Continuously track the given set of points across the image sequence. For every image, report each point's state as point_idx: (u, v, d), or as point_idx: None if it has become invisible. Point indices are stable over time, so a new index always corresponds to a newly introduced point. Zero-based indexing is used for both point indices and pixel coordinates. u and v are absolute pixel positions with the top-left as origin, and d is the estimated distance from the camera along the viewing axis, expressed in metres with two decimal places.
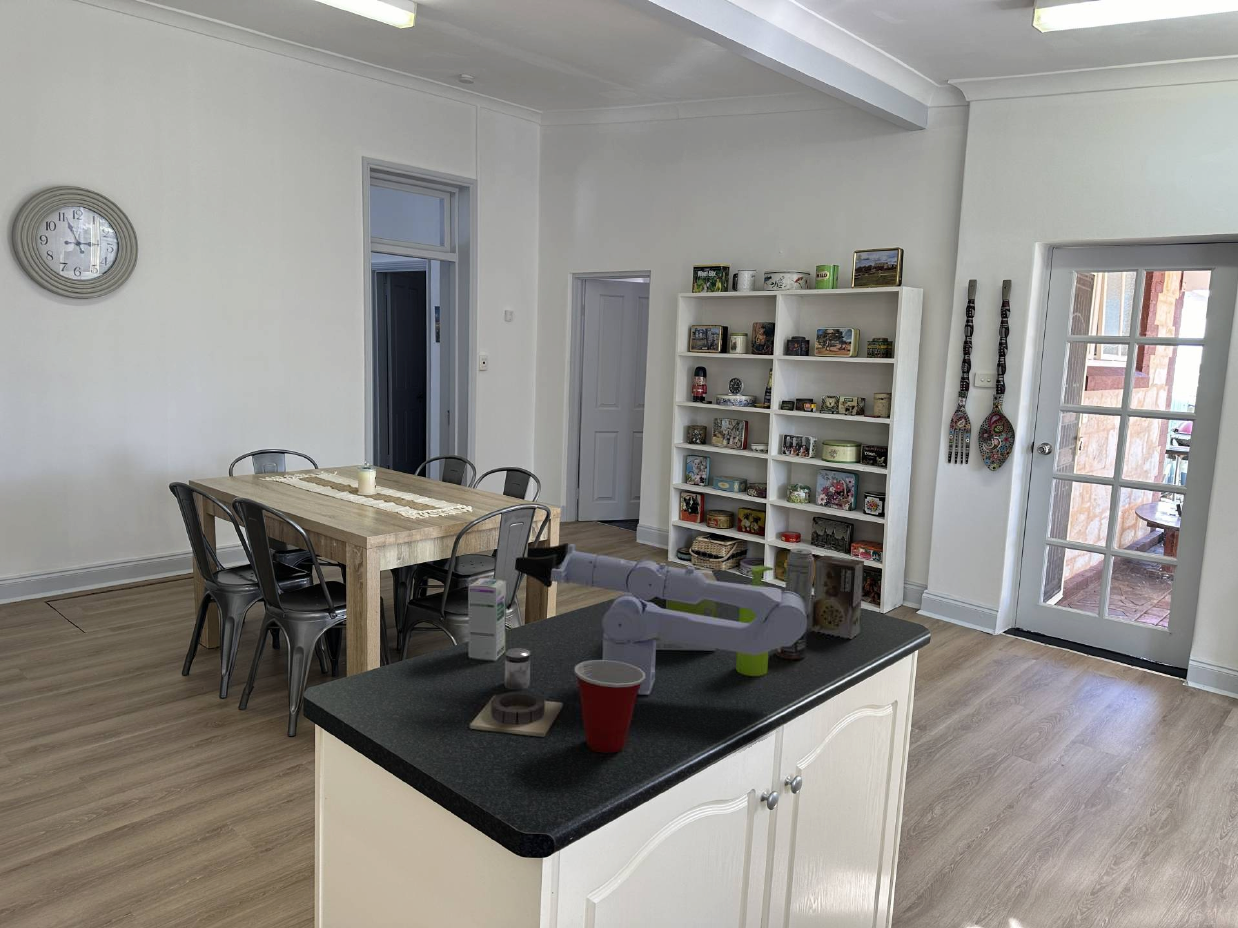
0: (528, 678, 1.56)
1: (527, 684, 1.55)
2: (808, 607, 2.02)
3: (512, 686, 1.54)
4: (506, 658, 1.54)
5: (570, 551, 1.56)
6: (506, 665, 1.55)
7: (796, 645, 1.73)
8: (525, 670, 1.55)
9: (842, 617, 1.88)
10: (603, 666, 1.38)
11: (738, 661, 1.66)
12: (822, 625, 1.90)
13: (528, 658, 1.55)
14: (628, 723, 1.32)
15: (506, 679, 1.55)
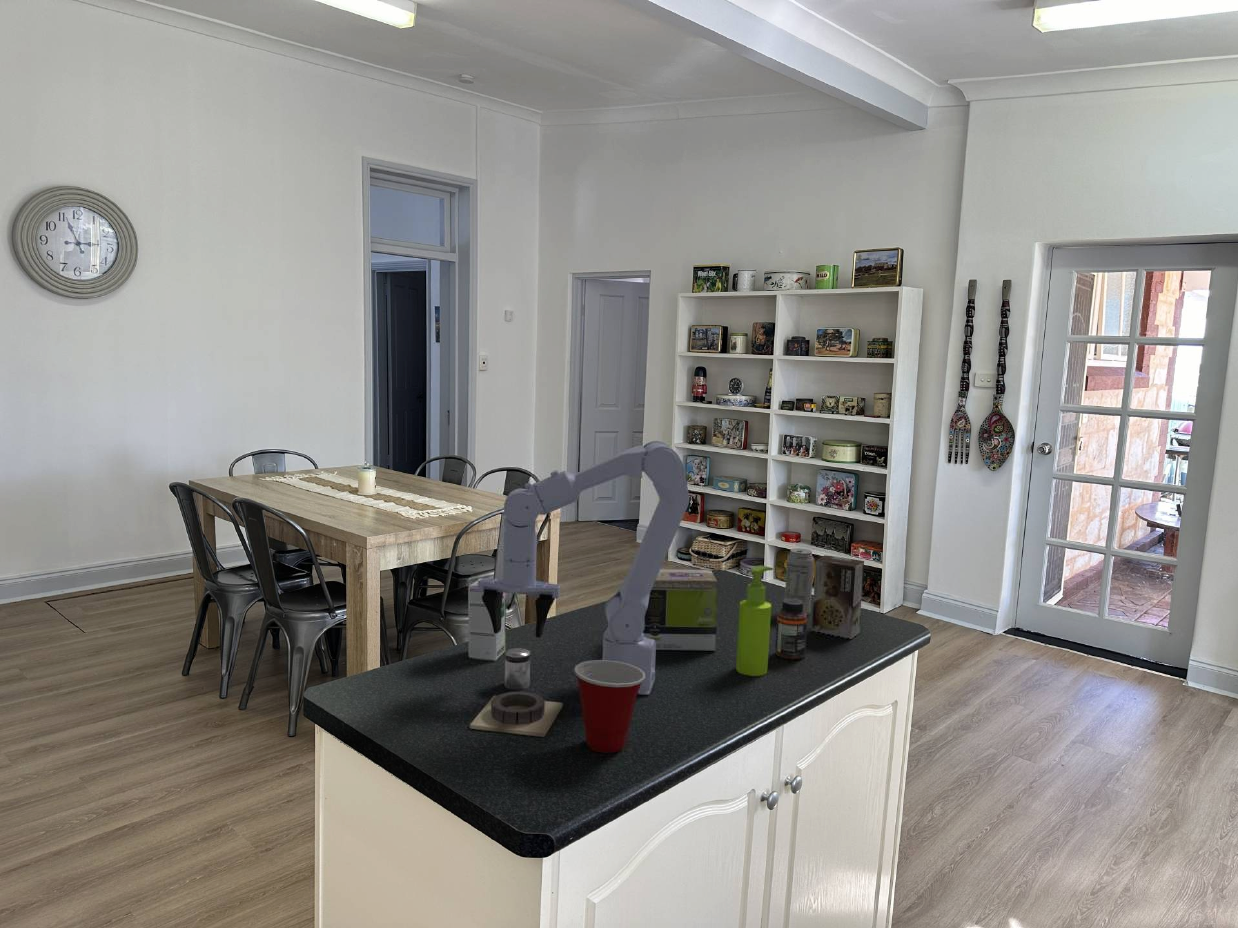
0: (528, 678, 1.56)
1: (527, 684, 1.55)
2: (808, 607, 2.02)
3: (512, 686, 1.54)
4: (506, 658, 1.54)
5: (520, 589, 1.51)
6: (506, 665, 1.55)
7: (796, 645, 1.73)
8: (525, 670, 1.55)
9: (842, 617, 1.88)
10: (603, 666, 1.38)
11: (738, 661, 1.66)
12: (822, 625, 1.90)
13: (528, 658, 1.55)
14: (628, 723, 1.32)
15: (506, 679, 1.55)
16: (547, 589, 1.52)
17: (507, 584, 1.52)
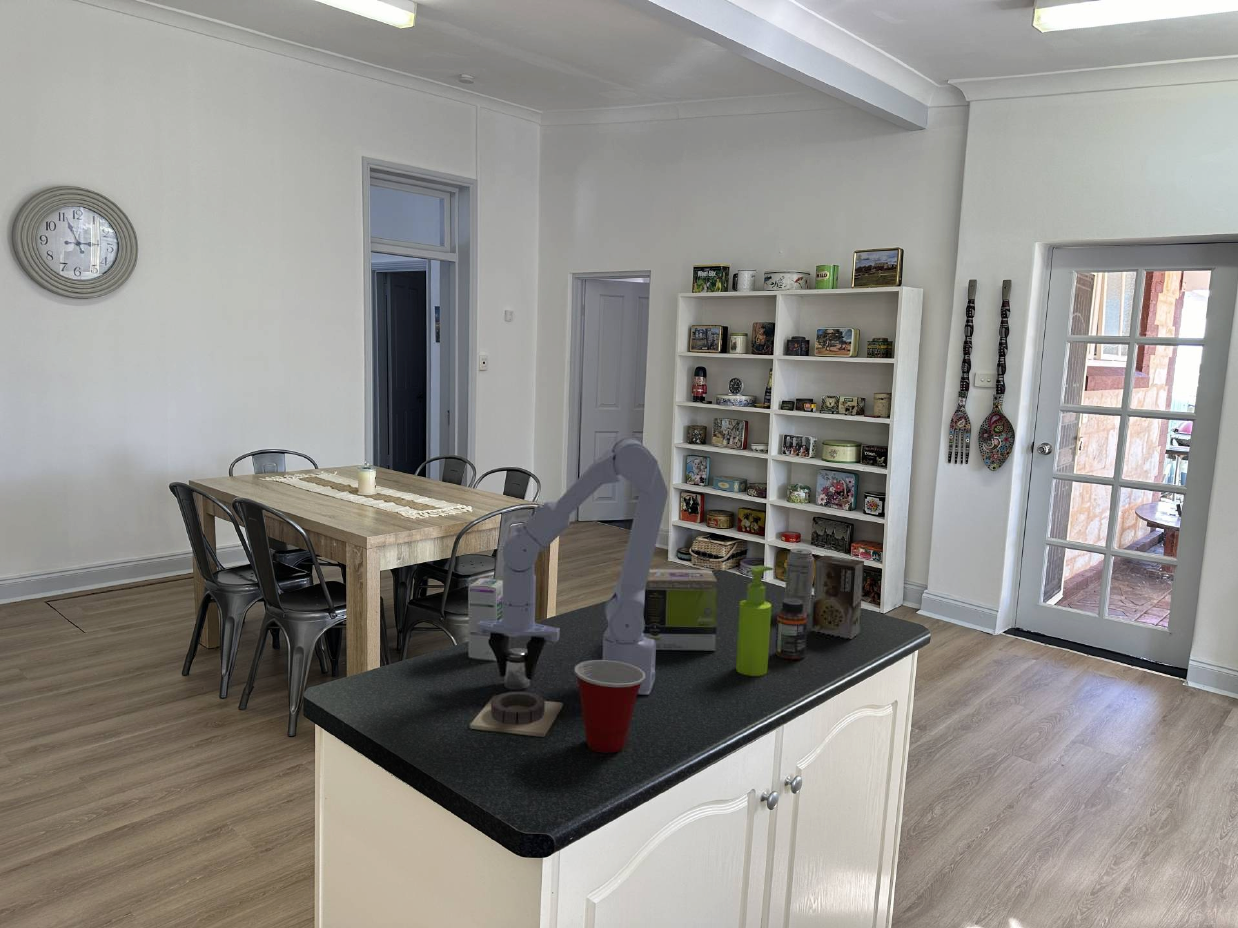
0: None
1: (527, 684, 1.55)
2: (808, 607, 2.02)
3: (512, 686, 1.54)
4: (506, 658, 1.54)
5: (519, 633, 1.52)
6: (506, 665, 1.55)
7: (796, 645, 1.73)
8: (525, 670, 1.55)
9: (842, 617, 1.88)
10: (603, 666, 1.38)
11: (738, 661, 1.66)
12: (822, 625, 1.90)
13: None
14: (628, 723, 1.32)
15: (506, 679, 1.55)
16: (546, 633, 1.53)
17: (506, 628, 1.53)
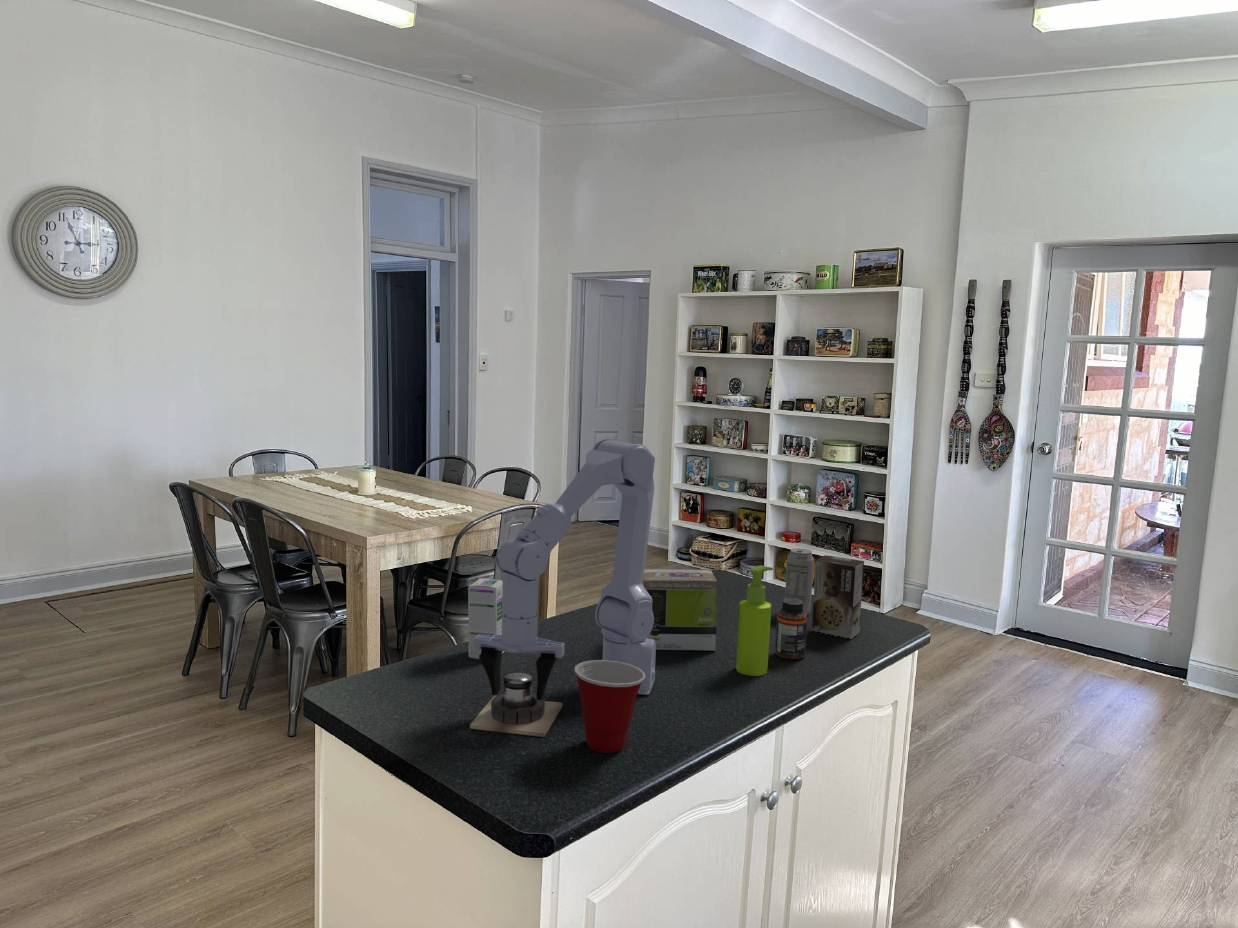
0: (530, 706, 1.42)
1: None
2: (808, 607, 2.02)
3: None
4: (505, 684, 1.41)
5: (520, 648, 1.38)
6: (505, 692, 1.41)
7: (796, 645, 1.73)
8: (527, 697, 1.41)
9: (842, 617, 1.88)
10: (603, 666, 1.38)
11: (738, 661, 1.66)
12: (822, 625, 1.90)
13: (530, 684, 1.41)
14: (628, 723, 1.32)
15: (506, 707, 1.41)
16: (550, 648, 1.39)
17: (506, 643, 1.39)
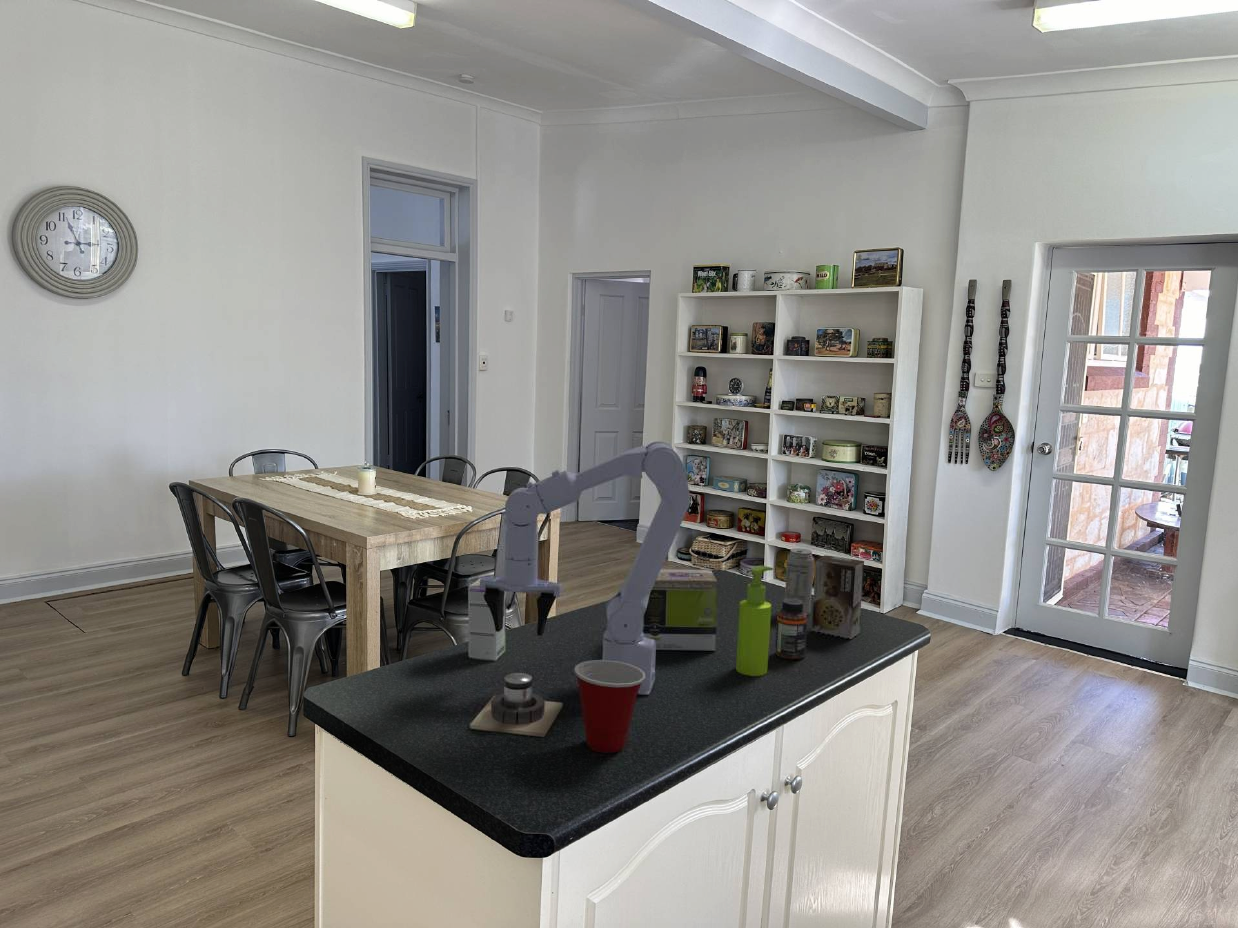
0: (530, 706, 1.42)
1: None
2: (808, 607, 2.02)
3: None
4: (506, 684, 1.41)
5: (522, 588, 1.52)
6: (506, 692, 1.41)
7: (796, 645, 1.73)
8: (527, 697, 1.41)
9: (842, 617, 1.88)
10: (603, 666, 1.38)
11: (738, 661, 1.66)
12: (822, 625, 1.90)
13: (530, 684, 1.41)
14: (628, 723, 1.32)
15: (506, 707, 1.41)
16: (548, 587, 1.53)
17: (509, 583, 1.53)
